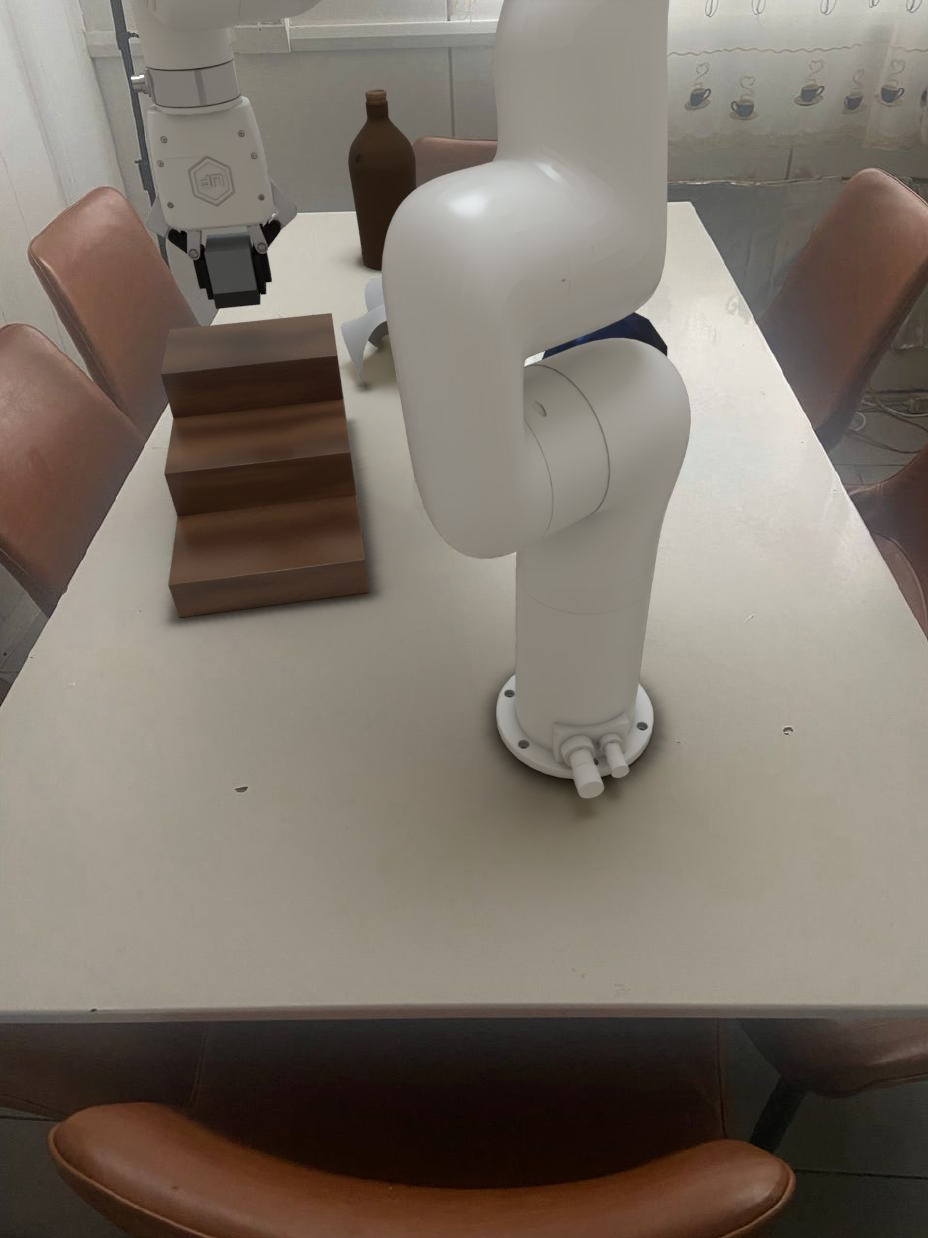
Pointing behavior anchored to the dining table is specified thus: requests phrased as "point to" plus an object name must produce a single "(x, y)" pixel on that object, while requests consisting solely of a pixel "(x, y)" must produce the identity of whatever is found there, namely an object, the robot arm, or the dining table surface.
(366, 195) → the olive oil
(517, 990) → the dining table surface
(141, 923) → the dining table surface
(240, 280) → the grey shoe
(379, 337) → the sculpture
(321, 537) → the wooden step block
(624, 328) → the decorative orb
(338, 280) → the dining table surface
